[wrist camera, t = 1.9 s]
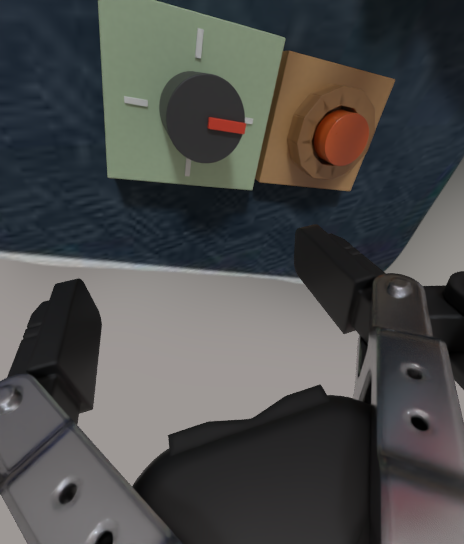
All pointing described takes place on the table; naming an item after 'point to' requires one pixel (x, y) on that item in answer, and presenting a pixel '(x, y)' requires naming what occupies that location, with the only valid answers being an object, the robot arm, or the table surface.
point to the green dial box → (165, 65)
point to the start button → (341, 137)
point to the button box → (315, 119)
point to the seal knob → (202, 116)
